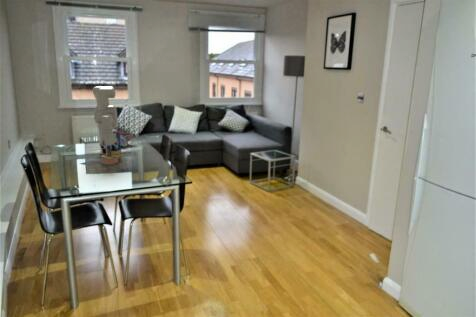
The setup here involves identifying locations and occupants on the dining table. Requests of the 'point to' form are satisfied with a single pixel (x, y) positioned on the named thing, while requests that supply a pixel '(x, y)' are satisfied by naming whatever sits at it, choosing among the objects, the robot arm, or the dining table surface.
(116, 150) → the blue food box
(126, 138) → the colourful crumpled piece
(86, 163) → the mat
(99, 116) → the robot arm
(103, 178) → the dining table surface
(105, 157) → the lid
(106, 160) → the bowl
